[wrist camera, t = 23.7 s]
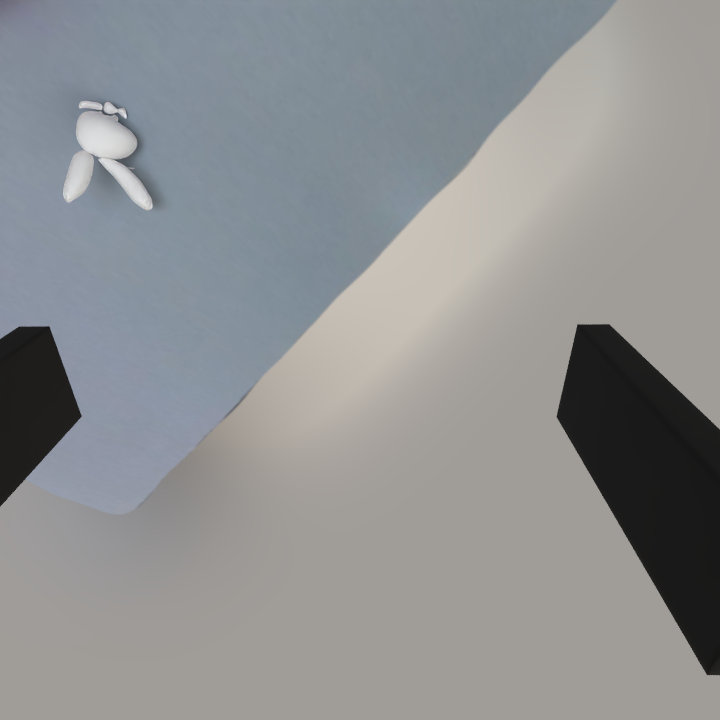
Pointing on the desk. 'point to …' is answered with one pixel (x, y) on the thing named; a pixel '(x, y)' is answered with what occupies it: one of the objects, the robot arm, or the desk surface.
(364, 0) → the desk surface
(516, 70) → the desk surface
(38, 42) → the desk surface
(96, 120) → the rabbit figurine
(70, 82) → the desk surface
